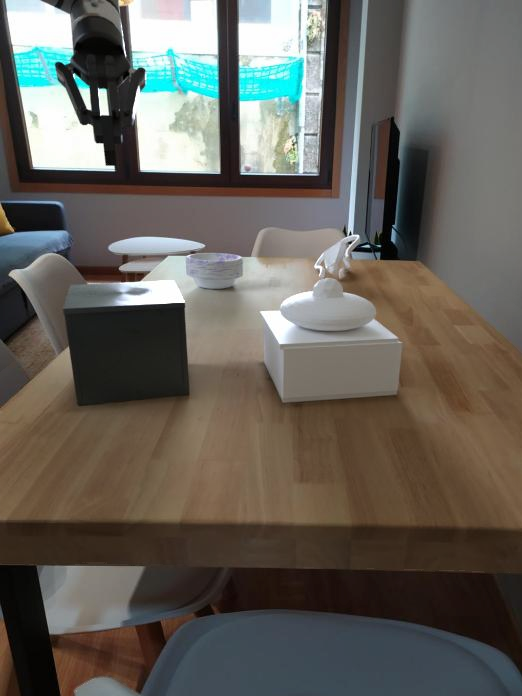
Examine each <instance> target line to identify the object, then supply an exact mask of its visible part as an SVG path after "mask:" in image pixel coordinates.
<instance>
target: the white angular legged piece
mask: <svg viewBox="0 0 522 696" xmlns="http://www.w3.org/2000/svg"><path fill="white" fill-rule="evenodd" d="M352 241H353V242H352ZM349 242H352V243H351V244H349V246H348V247H347V243H349ZM360 243H361V237H360V235H359V234H352V235H348V236H346V237H344V238H342V239H340V240H339V241H337V242H336V243H335V244H333V245H331V246H330V247H329V248H328V249H326V250H324V251H323V252H322V254H321V255H320V257H318V259H317V261H316V262H315V264H314V269H316V270H317V271H319V275H318V277H320V278H321V279H325V275H326V270H327V272H329V274H330V275H336V274H337V273H338V278H339V280H342V279H344V278H345V272H346V273H347V272H349V271H350V270H351V269H352V266H351V263H350V261H351V258H350V254H351V253H352V252H353V250H354V249H355V248H356V247H357V246H359V244H360ZM323 262H324V266H325V268H324V267H323V266H321V265H322V263H323ZM342 262H343V264H344V265H345V266H343V267H341V264H342ZM340 267H341V268H340Z"/></svg>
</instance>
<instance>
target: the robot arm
mask: <svg viewBox="0 0 522 696" xmlns="http://www.w3.org/2000/svg"><path fill="white" fill-rule="evenodd" d="M40 1H41V2H42V3H45V4H47V5H49V6H52V7H54V8H55V9H57V10H60V11H62V12H64V13H66V14H68V15H69V17H70V29H71V40H72V56H71V57H70V60H69V63H67V64H64V63H63V62H62V61H56V62H55V63H54V67H55V74H56V79H57V81H58V83H59V84H61V86H62V87H63V88H64V89H65V91H66V93H67V95H68V98H69V101H70V103H71V106H72V107H73V110H74V112H75V115H76V117H77V120H78V123H79V124H80V125H81V126H87V125H90V126H92V131H93V132H92V133H93V140H94V142H95V143H96V144H102V145H103V154H104V162H105V164H104V165H105V167H117V153H116V145H122V144H123V142H124V141H123V129H122V128H123V127H124V126H125V127H127V128H132V127H133V126H134V122H135V119H136V114H137V109H138V103H139V100H140V94H141V92H142V91H143V90H144V88H145V87H146V85H147V77H146V76H147V73H146V71H147V70H146V68H145V67H142V66H139V67H138V68H134V67H132V66H131V63H130V61H129V59H128V58H127V54H126V48H125V41H124V40H125V39H124V33H123V26H122V18H121V10H120V1H119V0H40ZM75 75H76V76H77V78H78V79H80V80H81V81H82V82H83V83H84V84H85V85H86V86H88V87H89V89H88V90H89V97H90V98H89V99H90V100H89V101H90V109H88V107H87V106H86V103H85V101H84V99H83V96H82V93H81V91H80V89H79V87H78V83H77V82H76V80H75ZM128 78H129V79H128ZM127 79H128V80H129V84H128V88H127V94H126V98H125V103H124V105H123V106H124V107H123V110H121V109H120V103H119V94H118V88H119V87H120V86H121V85H122V84H123V83H124V82H125V81H126V80H127ZM102 89H103V90H107V93H108V94H107V95H108V100H109V111H110V115H109V114H102V112H101V111H102V109H101V100H100V90H102Z"/></svg>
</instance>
